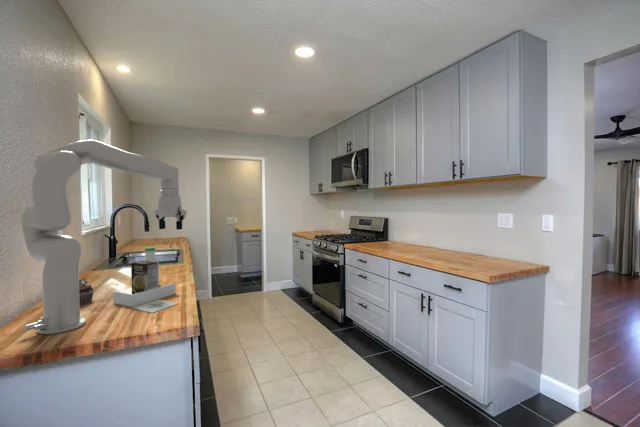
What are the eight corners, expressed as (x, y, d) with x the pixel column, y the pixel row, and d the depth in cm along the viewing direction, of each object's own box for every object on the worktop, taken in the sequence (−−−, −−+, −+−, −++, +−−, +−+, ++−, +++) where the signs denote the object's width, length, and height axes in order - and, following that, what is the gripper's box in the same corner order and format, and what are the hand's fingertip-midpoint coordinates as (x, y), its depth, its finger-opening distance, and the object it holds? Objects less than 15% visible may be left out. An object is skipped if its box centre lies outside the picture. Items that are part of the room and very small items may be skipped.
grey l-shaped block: (132, 307, 125) (132, 295, 125) (113, 303, 130) (113, 291, 130) (175, 293, 144) (175, 282, 144) (157, 290, 149) (157, 280, 149)
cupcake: (65, 307, 124) (65, 283, 124) (65, 301, 132) (65, 278, 131) (95, 303, 130) (94, 279, 130) (93, 297, 138) (93, 275, 137)
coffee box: (130, 298, 136) (130, 262, 135) (143, 294, 142) (142, 260, 142) (147, 300, 133) (146, 263, 133) (158, 296, 139) (158, 261, 139)
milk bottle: (162, 284, 160) (161, 246, 159) (153, 288, 152) (152, 248, 152) (148, 284, 161) (148, 246, 160) (138, 288, 153) (137, 248, 152)
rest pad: (152, 313, 118) (152, 311, 118) (132, 308, 123) (132, 307, 123) (178, 303, 129) (178, 302, 129) (158, 300, 134) (158, 299, 134)
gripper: (148, 192, 142) (149, 229, 143) (179, 192, 138) (180, 230, 138) (161, 193, 149) (161, 228, 150) (190, 192, 145) (191, 228, 145)
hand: (170, 229), depth 144 cm, fingers open, 9 cm apart
